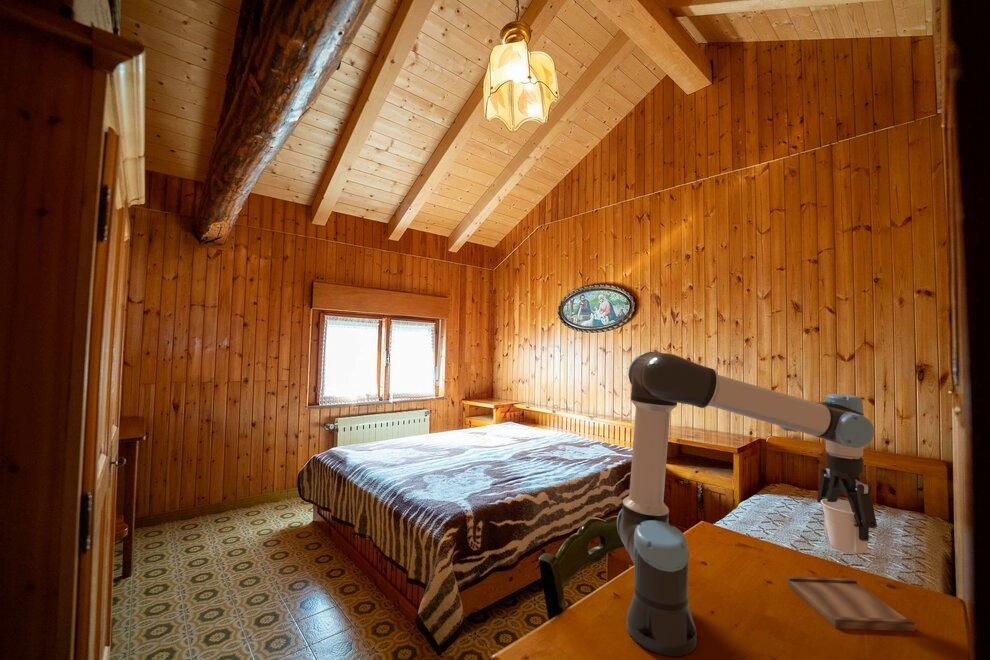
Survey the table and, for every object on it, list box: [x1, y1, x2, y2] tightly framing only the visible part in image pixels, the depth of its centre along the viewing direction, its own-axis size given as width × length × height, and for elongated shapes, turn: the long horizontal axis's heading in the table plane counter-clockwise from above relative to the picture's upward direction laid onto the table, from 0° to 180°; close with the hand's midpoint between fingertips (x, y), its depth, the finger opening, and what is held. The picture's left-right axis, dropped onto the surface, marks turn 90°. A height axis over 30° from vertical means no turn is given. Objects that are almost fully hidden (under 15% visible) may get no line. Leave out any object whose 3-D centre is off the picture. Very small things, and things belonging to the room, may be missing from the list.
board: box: [786, 576, 916, 632], centre depth 109 cm, size 18×18×2 cm
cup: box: [820, 498, 862, 555], centre depth 110 cm, size 10×10×11 cm
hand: (844, 542), depth 110 cm, fingers closed on cup, 9 cm apart
